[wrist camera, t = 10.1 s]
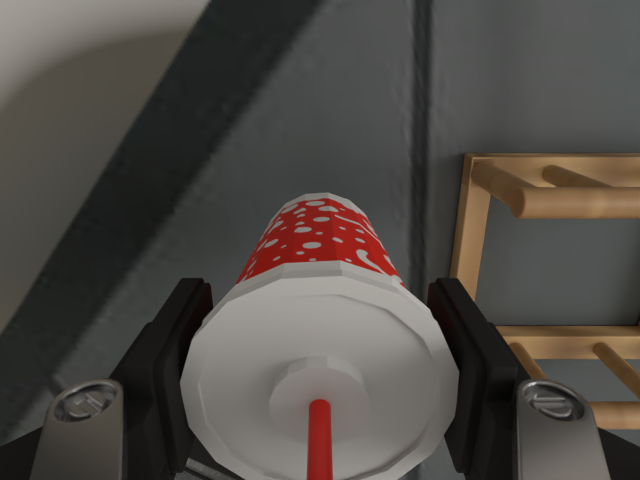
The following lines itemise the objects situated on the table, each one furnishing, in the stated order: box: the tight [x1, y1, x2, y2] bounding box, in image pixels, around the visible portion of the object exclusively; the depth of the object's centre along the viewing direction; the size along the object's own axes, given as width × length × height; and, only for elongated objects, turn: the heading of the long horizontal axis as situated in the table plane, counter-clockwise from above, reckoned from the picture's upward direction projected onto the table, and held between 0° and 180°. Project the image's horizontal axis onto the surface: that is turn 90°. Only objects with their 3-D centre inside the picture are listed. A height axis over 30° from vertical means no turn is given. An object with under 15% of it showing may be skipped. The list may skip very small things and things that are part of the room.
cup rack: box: [449, 153, 640, 429], centre depth 20 cm, size 13×12×7 cm
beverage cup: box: [180, 193, 459, 480], centre depth 11 cm, size 6×6×14 cm
